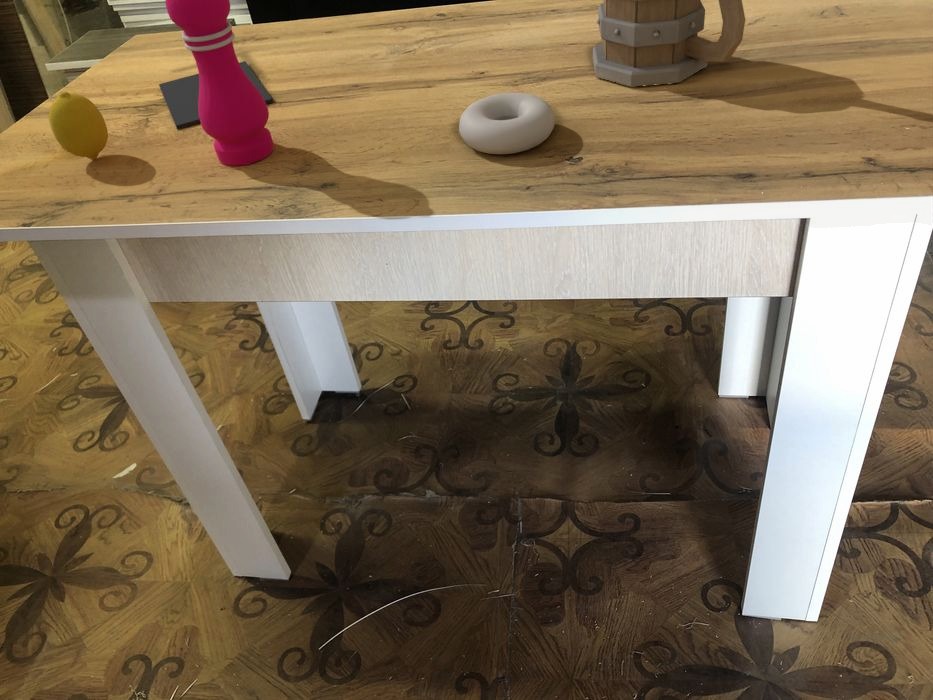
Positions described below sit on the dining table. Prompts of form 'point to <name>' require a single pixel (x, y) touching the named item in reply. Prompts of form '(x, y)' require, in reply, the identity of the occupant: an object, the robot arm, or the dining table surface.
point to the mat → (196, 96)
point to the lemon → (78, 125)
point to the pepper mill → (223, 83)
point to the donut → (506, 123)
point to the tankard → (661, 40)
